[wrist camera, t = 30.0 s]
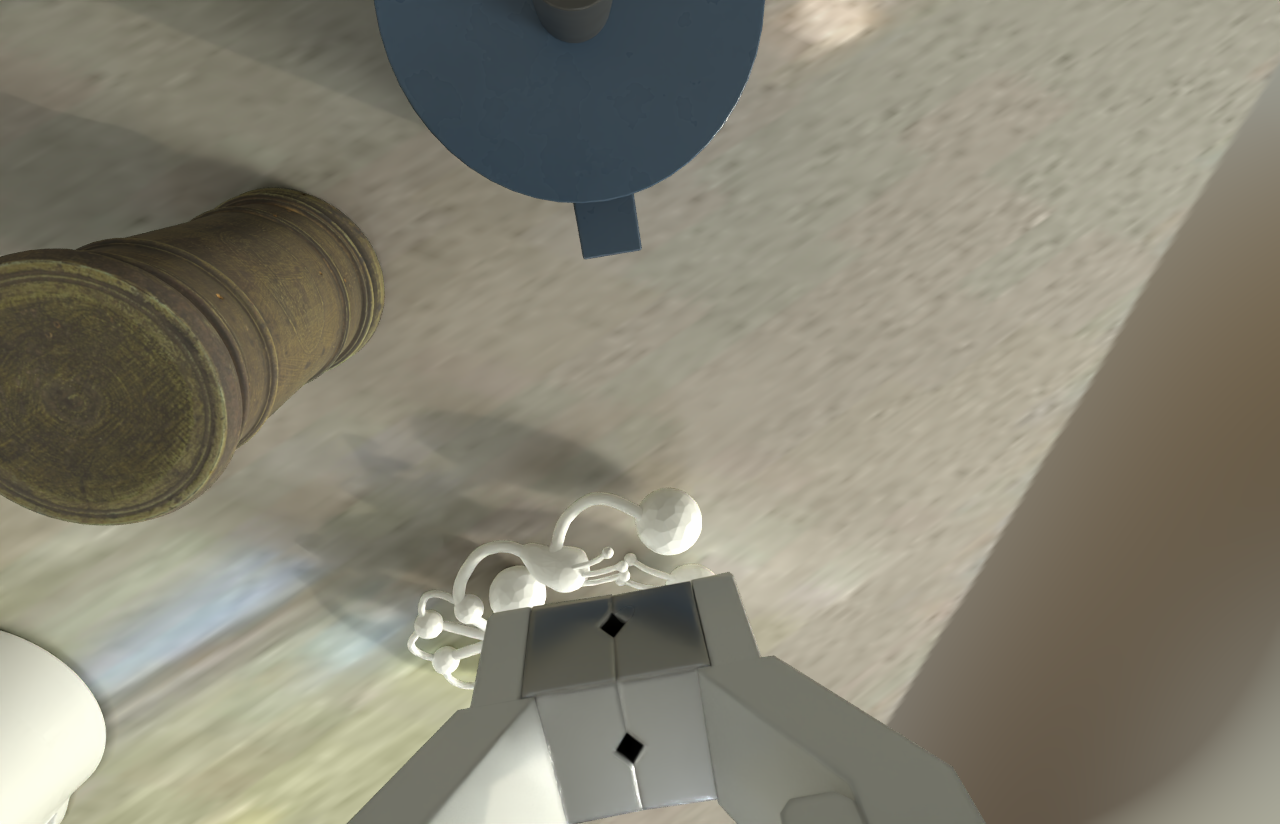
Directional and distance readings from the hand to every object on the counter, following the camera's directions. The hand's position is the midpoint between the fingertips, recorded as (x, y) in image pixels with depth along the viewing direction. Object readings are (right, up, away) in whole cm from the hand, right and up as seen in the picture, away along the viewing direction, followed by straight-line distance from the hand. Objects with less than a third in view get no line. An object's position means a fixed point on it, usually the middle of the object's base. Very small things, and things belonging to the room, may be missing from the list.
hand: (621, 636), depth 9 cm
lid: (-2, +17, +16) cm, 24 cm away
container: (-17, +10, +29) cm, 35 cm away
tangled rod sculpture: (-3, -9, +37) cm, 38 cm away
